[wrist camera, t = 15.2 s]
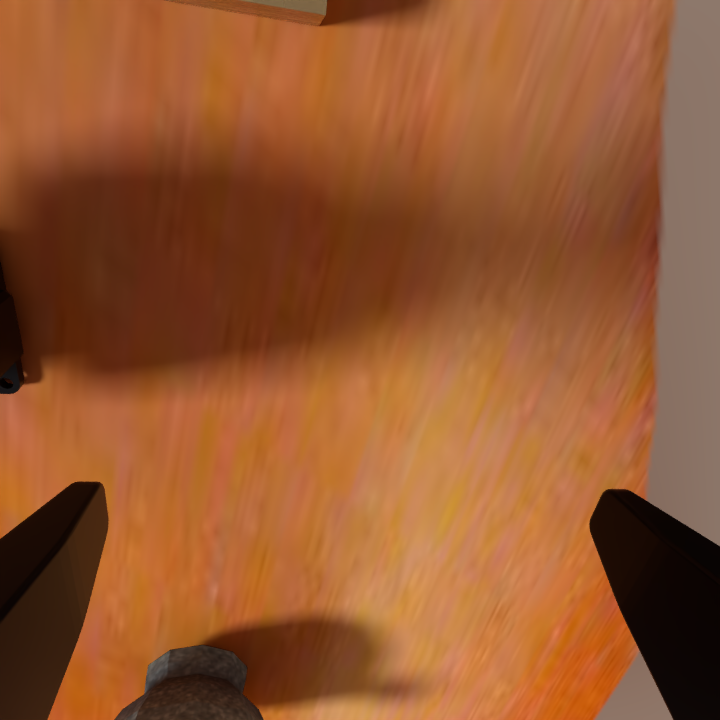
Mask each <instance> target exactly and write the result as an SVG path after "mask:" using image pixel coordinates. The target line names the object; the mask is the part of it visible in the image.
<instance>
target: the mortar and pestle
mask: <svg viewBox="0 0 720 720" xmlns="http://www.w3.org/2000/svg"><path fill="white" fill-rule="evenodd" d="M246 673H247V666H246V665H245V664H244V663H243V662H242V661H241V660H240V659H239V658H238V657H237V656H236V655H235V654H234V653H233V652H231V651H227V650H223V649H218V648H214V647H210V646H205V645H199V646H193V647H186V648H180V649H174V650H170V651H168V652H167V653H165V654H164V655H162V656H161V657H160V658H158V659H157V660H155V661H154V662H152V663H151V664H150V665H148V671H147V676H146V684H145V694H144V695H142V696H141V697H140V698H138V699H137V700H135V701H134V702H132V703H131V704H130V705H128V706H127V707H125V708H124V709H123V710H122V711H121V712H120V713H119V715H118V716H117V717H116V718H115V720H263V717H262V715H261V713H260V711H259V709H258V708H257V707H256V706H255V705H253V704H252V703H251V702H250V701H249V700H248V699H247V698H246V697H245V696H244V695H243V694H242V693H243V689H244V685H245V681H246Z"/></svg>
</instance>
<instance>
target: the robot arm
mask: <svg viewBox="0 0 720 720" xmlns="http://www.w3.org/2000/svg"><path fill="white" fill-rule="evenodd" d="M22 354H23V347H22V342H21V337H20V332H19V327H18V321H17V316H16V311H15V306H14V301H13V297H12V295H11V294H10V293H9V292H8V291H7V290H6V287H5V282H4V277H3V272H2V267H1V262H0V394H12V393H15V392H17V391H18V390H19V389H20V388H21V386H22V385H23V384H24V375H23V370H22V365H21V360H20V356H21V355H22ZM4 378H8V379H10V380H11V381H12V382H13V384H11V383H8V382H6V381H5V379H4ZM589 525H590V532H591V535H592V538H593V541H594V543H595V546H596V549H597V551H598V554H599V556H600V559H601V562H602V564H603V567H604V570H605V572H606V575H607V578H608V580H609V583H610V586H611V588H612V591H613V593H614V596H615V599H616V601H617V603H618V606H619V608H620V611H621V613H622V615H623V617H624V619H625V621H626V624H627V626H628V628H629V630H630V632H631V634H632V636H633V638H634V640H635V642H636V644H637V646H638V648H639V650H640V652H641V654H642V656H643V658H644V660H645V662H646V665H647V667H648V668H649V671H650V673H651V675H652V677H653V679H654V681H655V683H656V685H657V687H658V689H659V691H660V693H661V695H662V697H663V699H664V701H665V703H666V705H667V708H668V710H669V712H670V714H671V716H672V718H673V720H720V546H718V545H717V544H715V543H713V542H712V541H710V540H709V539H707V538H705V537H704V536H702V535H701V534H699V533H697V532H696V531H694V530H693V529H691V528H689V527H688V526H686V525H685V524H683V523H681V522H680V521H678V520H676V519H675V518H673V517H672V516H670V515H668V514H667V513H665V512H664V511H662V510H660V509H659V508H657V507H655V506H654V505H652V504H650V503H649V502H647V501H646V500H644V499H643V498H641V497H639V496H638V495H636V494H635V493H633V492H631V491H629V490H626V489H608V490H606V491H604V492H603V493H602V495H601V497H600V499H599V501H598V504H597V506H596V508H595V510H594V512H593V514H592V516H591V519H590V523H589ZM107 531H108V512H107V504H106V497H105V489H104V486H103V484H102V483H100V482H75V483H72V484H71V485H69V486H68V487H67V488H65V489H64V490H63V491H62V492H60V493H59V494H58V495H56V496H55V497H54V498H53V499H51V500H50V501H49V502H47V503H46V504H45V505H43V506H42V507H41V508H40V509H38V510H37V511H36V512H34V513H33V514H32V515H31V516H29V517H28V518H27V519H25V520H24V521H23V522H22V523H20V524H19V525H18V526H16V527H15V528H14V529H13V530H11V531H10V532H9V533H7V534H6V535H5V536H3V537H2V538H1V539H0V720H47V719H48V716H49V714H50V711H51V709H52V706H53V703H54V701H55V698H56V696H57V693H58V690H59V688H60V685H61V683H62V680H63V677H64V675H65V672H66V670H67V667H68V664H69V662H70V659H71V656H72V654H73V651H74V649H75V646H76V643H77V641H78V638H79V635H80V632H81V629H82V627H83V623H84V620H85V616H86V613H87V609H88V605H89V601H90V597H91V594H92V590H93V586H94V582H95V578H96V574H97V570H98V567H99V563H100V559H101V555H102V551H103V547H104V543H105V540H106V536H107Z"/></svg>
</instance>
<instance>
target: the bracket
mask: <svg viewBox="0 0 720 720" xmlns="http://www.w3.org/2000/svg"><path fill="white" fill-rule="evenodd" d="M166 1H171V2H177V3H183V4H189V5H195V6H201V7H207V8H213V9H219V10H225V11H230V12H236V13H242V14H248V15H254V16H260V17H266V18H272V19H278V20H284V21H289V22H295V23H301V24H307V25H313V26H319V25H320V23H321V22H322V20H323V19H324V17H325V16H326V7H327V0H166Z"/></svg>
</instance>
